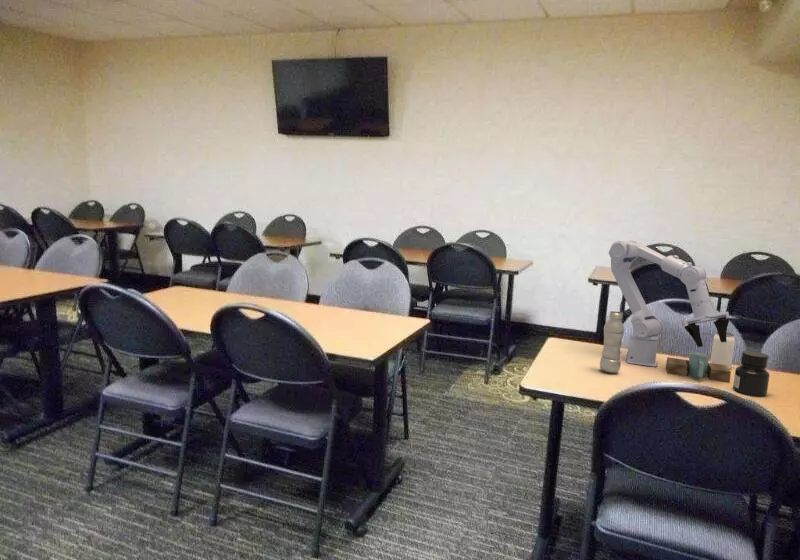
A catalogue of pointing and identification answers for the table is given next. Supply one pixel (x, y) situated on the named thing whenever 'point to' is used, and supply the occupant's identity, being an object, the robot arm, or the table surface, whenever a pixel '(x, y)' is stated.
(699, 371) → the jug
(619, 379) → the table surface
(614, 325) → the plastic bottle
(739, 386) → the ink bottle
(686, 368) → the rack
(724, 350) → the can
